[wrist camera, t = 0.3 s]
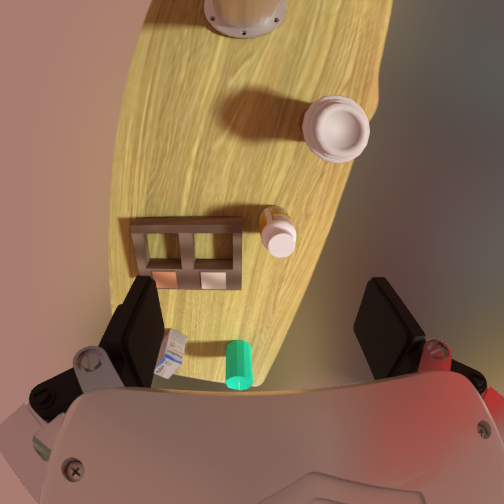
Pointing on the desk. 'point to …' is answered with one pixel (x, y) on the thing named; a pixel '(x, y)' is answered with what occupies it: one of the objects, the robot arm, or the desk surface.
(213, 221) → the socket block
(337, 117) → the coffee cup
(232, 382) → the candle
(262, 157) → the desk surface
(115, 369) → the robot arm
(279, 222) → the supplement bottle
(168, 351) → the medicine box
